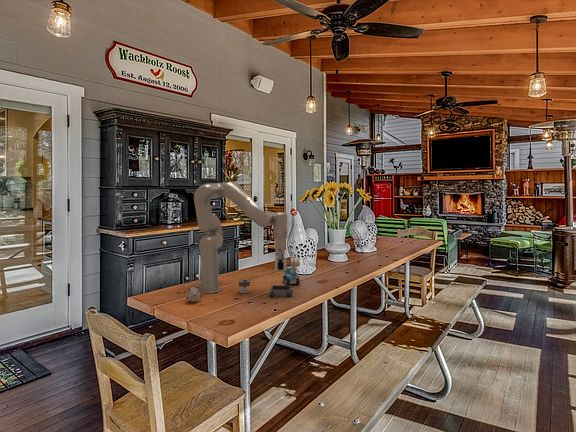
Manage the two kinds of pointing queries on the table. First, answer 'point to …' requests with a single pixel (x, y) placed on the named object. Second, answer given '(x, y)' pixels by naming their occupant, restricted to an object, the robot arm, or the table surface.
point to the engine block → (277, 264)
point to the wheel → (244, 283)
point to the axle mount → (244, 290)
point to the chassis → (280, 291)
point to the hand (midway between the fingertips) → (280, 268)
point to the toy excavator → (292, 273)
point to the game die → (193, 294)
